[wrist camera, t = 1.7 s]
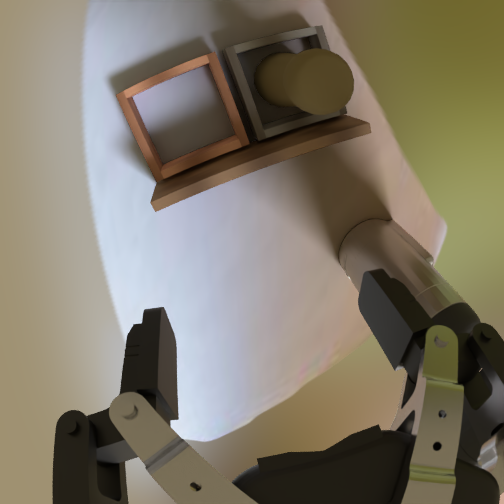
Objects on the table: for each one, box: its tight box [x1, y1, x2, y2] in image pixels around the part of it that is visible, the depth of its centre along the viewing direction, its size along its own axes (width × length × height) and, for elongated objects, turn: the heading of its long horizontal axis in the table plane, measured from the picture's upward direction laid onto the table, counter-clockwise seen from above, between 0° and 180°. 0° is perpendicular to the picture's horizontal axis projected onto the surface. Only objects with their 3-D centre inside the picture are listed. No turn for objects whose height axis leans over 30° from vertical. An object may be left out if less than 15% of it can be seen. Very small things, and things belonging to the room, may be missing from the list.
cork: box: [254, 48, 354, 115], centre depth 22 cm, size 6×6×11 cm
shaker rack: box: [116, 26, 371, 212], centre depth 24 cm, size 21×11×6 cm, turn 108°
